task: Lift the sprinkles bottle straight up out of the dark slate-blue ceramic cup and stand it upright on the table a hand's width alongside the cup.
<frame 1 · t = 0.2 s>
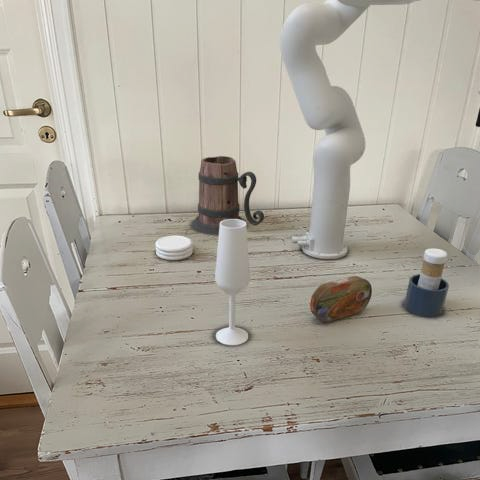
white round stack: (174, 254, 134), on the table
sprinkles bottle: (422, 307, 111), resting on cup
cup: (422, 307, 111), on the table
champagne flute: (232, 336, 100), on the table
tankard: (228, 227, 152), on the table
tin: (338, 315, 107), on the table
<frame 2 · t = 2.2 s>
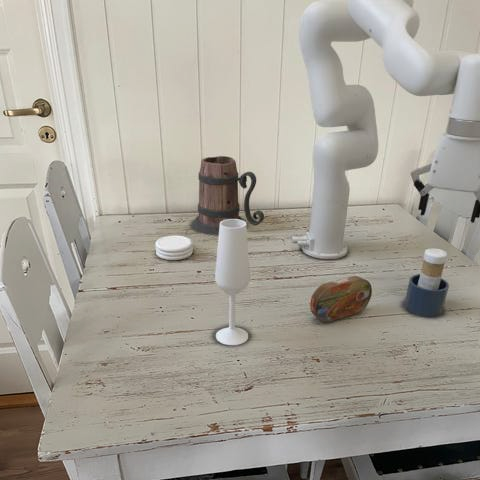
hand: (447, 217, 100), 21 cm above the table, tool pointing down, fingers open, 9 cm apart
nothing on the table moved.
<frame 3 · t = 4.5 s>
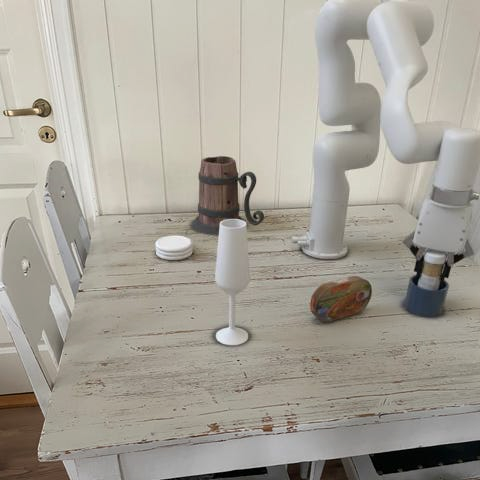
hand: (430, 276, 106), 8 cm above the table, tool pointing down, fingers closed on sprinkles bottle, 4 cm apart
sprinkles bottle: (422, 307, 111), resting on cup, touching gripper
everything else where it was.
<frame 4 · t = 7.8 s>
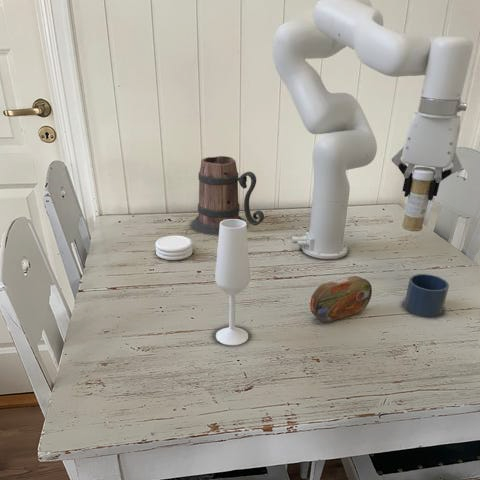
hand: (418, 196, 107), 23 cm above the table, tool pointing down, fingers closed on sprinkles bottle, 4 cm apart
sprinkles bottle: (411, 229, 111), point 15 cm above the table, touching gripper
everything else where it was.
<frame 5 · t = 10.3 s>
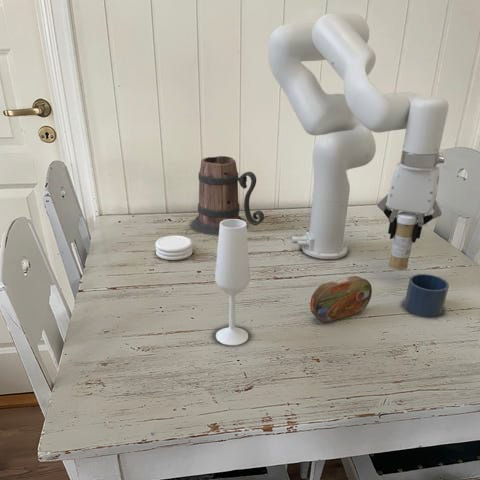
hand: (403, 238, 115), 12 cm above the table, tool pointing down, fingers closed on sprinkles bottle, 4 cm apart
sprinkles bottle: (397, 267, 119), point 4 cm above the table, touching gripper
everything else where it was.
when the fingers open (8 cm above the table, at t = 11.6 s): sprinkles bottle stays where it is, on the table.
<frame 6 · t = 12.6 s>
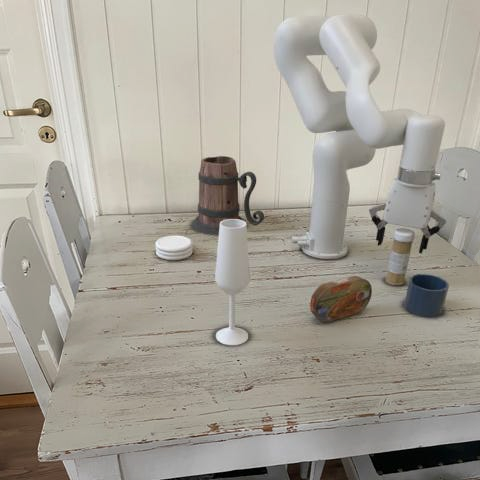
hand: (400, 247, 117), 9 cm above the table, tool pointing down, fingers open, 9 cm apart
sprinkles bottle: (394, 282, 121), on the table
everything else where it was.
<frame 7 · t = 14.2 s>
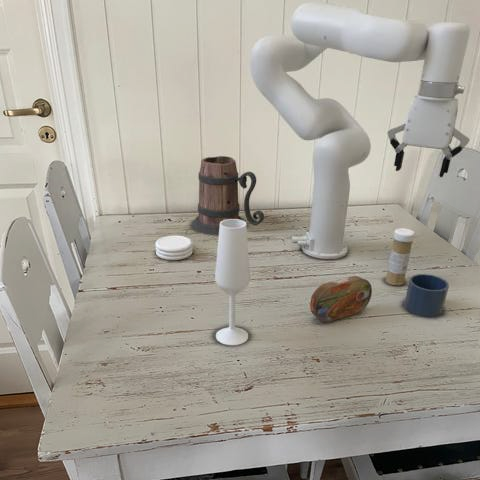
hand: (419, 172, 112), 26 cm above the table, tool pointing down, fingers open, 9 cm apart
nothing on the table moved.
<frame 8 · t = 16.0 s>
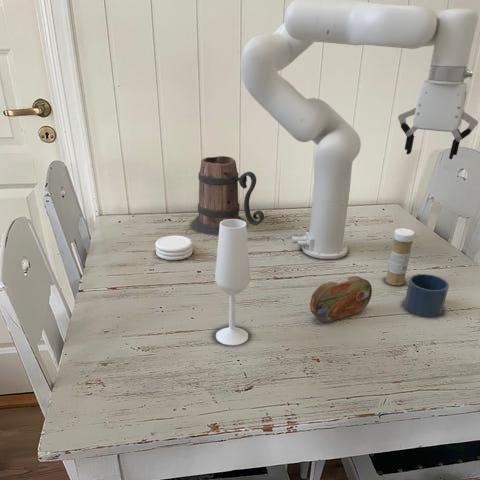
hand: (429, 155, 116), 28 cm above the table, tool pointing down, fingers open, 9 cm apart
nothing on the table moved.
at the end: sprinkles bottle inside the target area (0.1 cm from its centre), on the table; sprinkles bottle tilted 0°; sprinkles bottle touching table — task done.
